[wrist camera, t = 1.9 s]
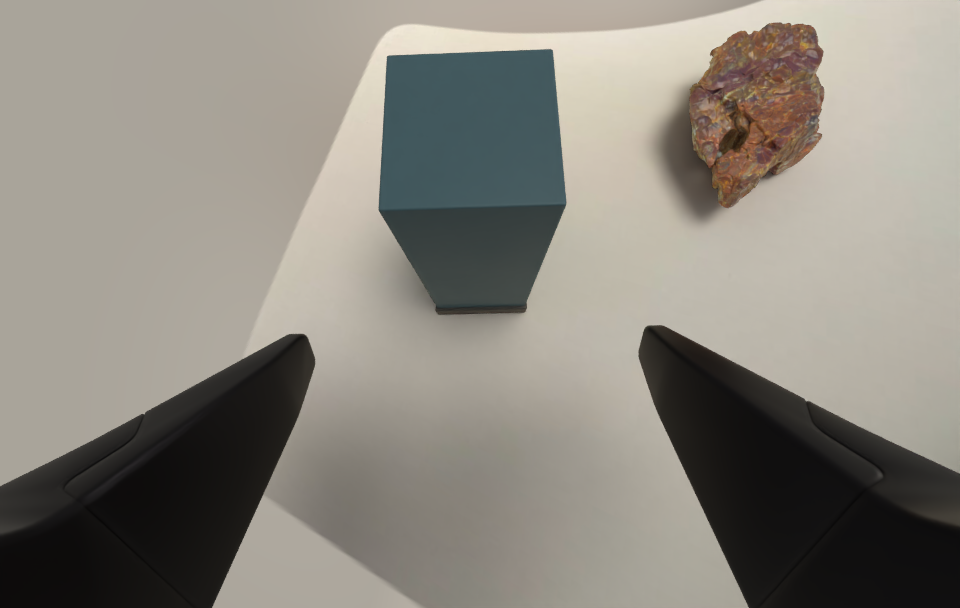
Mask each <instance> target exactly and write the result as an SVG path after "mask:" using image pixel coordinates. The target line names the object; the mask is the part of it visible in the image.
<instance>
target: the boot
mask: <svg viewBox="0 0 960 608" xmlns="http://www.w3.org/2000/svg"><path fill="white" fill-rule="evenodd" d="M565 206H566V193H565V182H564V171H563V160H562V148H561V137H560V126H559V115H558V104H557V92H556V81H555V70H554V59H553V50H551V49H545V50H520V51H494V52H469V53H443V54H418V55H392V56H387V66H386V84H385V102H384V121H383V139H382V157H381V175H380V194H379V212H380V213H381V215H382V216H383V218H384V220H385V221H386V223H387V225H388V226H389V228H390V230H391V231H392V233H393V235H394V236H395V238H396V240H397V241H398V243H399V245H400V246H401V248H402V250H403V251H404V253H405V255H406V256H407V258H408V260H409V261H410V263H411V265H412V266H413V268H414V270H415V271H416V273H417V274H418V276H419V278H420V279H421V281H422V283H423V284H424V286H425V288H426V289H427V291H428V293H429V294H430V296H431V298H432V299H433V301H434V303H435V304H436V312H437V313H438V314H478V313H518V312H525V311H526V309H527V303H526V301H527V299H528V296H529V294H530V292H531V289H532V287H533V284H534V282H535V279H536V277H537V274H538V272H539V270H540V267H541V265H542V262H543V260H544V257H545V255H546V252H547V250H548V248H549V245H550V243H551V240H552V238H553V235H554V233H555V231H556V228H557V226H558V223H559V221H560V218H561V216H562V213H563V211H564V209H565Z"/></svg>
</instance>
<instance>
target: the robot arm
mask: <svg viewBox="0 0 960 608" xmlns="http://www.w3.org/2000/svg"><path fill="white" fill-rule="evenodd" d="M639 360H640V363H641V366H642V369H643V372H644V375H645V378H646V381H647V384H648V387H649V390H650V393H651V396H652V399H653V402H654V405H655V407H656V410H657V412H658V415H659V417H660V419H661V421H662V423H663V425H664V428H665V430H666V432H667V434H668V436H669V438H670V440H671V442H672V445H673V447H674V449H675V451H676V453H677V455H678V457H679V460H680V462H681V464H682V466H683V468H684V470H685V472H686V474H687V477H688V479H689V481H690V483H691V485H692V487H693V489H694V492H695V494H696V496H697V498H698V500H699V502H700V504H701V506H702V509H703V511H704V513H705V515H706V517H707V519H708V521H709V523H710V526H711V528H712V530H713V532H714V534H715V536H716V538H717V541H718V543H719V545H720V547H721V549H722V551H723V553H724V555H725V558H726V560H727V562H728V564H729V566H730V568H731V570H732V573H733V575H734V577H735V579H736V581H737V583H738V585H739V587H740V590H741V592H742V594H743V596H744V598H745V600H746V602H747V605H748V607H749V608H960V474H959V473H957V472H955V471H953V470H950V469H948V468H946V467H944V466H942V465H940V464H937V463H935V462H933V461H931V460H929V459H927V458H925V457H922V456H920V455H918V454H916V453H914V452H912V451H909V450H907V449H905V448H903V447H901V446H899V445H896V444H894V443H892V442H890V441H888V440H886V439H884V438H882V437H880V436H878V435H875V434H873V433H871V432H869V431H867V430H865V429H863V428H861V427H859V426H857V425H855V424H853V423H851V422H849V421H847V420H845V419H843V418H841V417H839V416H837V415H835V414H833V413H831V412H829V411H827V410H825V409H823V408H821V407H819V406H817V405H815V404H813V403H812V402H810V401H805V399H804V398H802V397H800V396H798V395H796V394H794V393H792V392H790V391H788V390H786V389H784V388H782V387H781V386H779V385H777V384H775V383H773V382H771V381H769V380H767V379H765V378H763V377H761V376H759V375H757V374H755V373H754V372H752V371H750V370H748V369H746V368H744V367H742V366H740V365H738V364H736V363H734V362H732V361H730V360H729V359H727V358H725V357H723V356H721V355H719V354H717V353H715V352H713V351H711V350H709V349H707V348H705V347H703V346H702V345H700V344H698V343H696V342H694V341H692V340H690V339H688V338H686V337H684V336H682V335H680V334H678V333H677V332H675V331H673V330H671V329H669V328H667V327H665V326H662V325H654V326H647V327H646V328H645V329H644V332H643V336H642V340H641V344H640V348H639ZM314 367H315V357H314V354H313V351H312V348H311V345H310V343H309V340H308V337H307V336H306V335H304V334H289V335H286V336H285V337H283V338H281V339H279V340H277V341H275V342H274V343H272V344H270V345H268V346H266V347H264V348H263V349H261V350H259V351H257V352H255V353H253V354H252V355H250V356H248V357H246V358H244V359H242V360H241V361H239V362H237V363H235V364H233V365H231V366H230V367H228V368H226V369H224V370H222V371H221V372H219V373H217V374H215V375H213V376H211V377H209V378H207V379H206V380H204V381H202V382H200V383H199V384H196V385H195V386H193V387H191V388H189V389H187V390H185V391H184V392H182V393H180V394H178V395H176V396H174V397H173V398H171V399H169V400H167V401H165V402H163V403H161V404H160V405H158V406H156V407H154V408H152V409H151V410H149V411H147V412H146V413H145V415H144V414H141V415H139V416H137V417H136V418H134V419H132V420H130V421H128V422H126V423H125V424H123V425H121V426H119V427H117V428H115V429H113V430H111V431H110V432H108V433H106V434H104V435H102V436H100V437H98V438H96V439H94V440H93V441H91V442H89V443H87V444H85V445H83V446H81V447H79V448H77V449H75V450H73V451H71V452H69V453H67V454H65V455H63V456H61V457H59V458H57V459H55V460H53V461H51V462H49V463H47V464H45V465H43V466H41V467H39V468H36V469H34V470H33V471H30V472H29V473H26V474H24V475H22V476H20V477H18V478H16V479H14V480H12V481H10V482H8V483H6V484H4V485H2V486H0V608H212V606H213V604H214V602H215V600H216V597H217V595H218V593H219V591H220V589H221V586H222V584H223V582H224V580H225V578H226V575H227V573H228V571H229V569H230V567H231V564H232V562H233V560H234V558H235V556H236V553H237V551H238V549H239V546H240V544H241V542H242V540H243V538H244V536H245V533H246V531H247V529H248V527H249V524H250V522H251V520H252V518H253V516H254V514H255V511H256V509H257V507H258V505H259V502H260V500H261V498H262V496H263V494H264V491H265V489H266V487H267V485H268V483H269V480H270V478H271V476H272V474H273V472H274V469H275V467H276V465H277V463H278V461H279V458H280V456H281V454H282V452H283V449H284V447H285V445H286V443H287V441H288V438H289V436H290V434H291V432H292V430H293V427H294V425H295V423H296V420H297V418H298V416H299V413H300V410H301V407H302V404H303V401H304V398H305V395H306V392H307V389H308V386H309V383H310V379H311V376H312V373H313V370H314Z"/></svg>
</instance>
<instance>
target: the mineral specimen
mask: <svg viewBox="0 0 960 608" xmlns="http://www.w3.org/2000/svg"><path fill="white" fill-rule="evenodd" d="M816 35H817V34H816V31H815V29H814V28H813V27H811V26H810V25H804V24H796V25H792V26H791V24H790V23H787V24H782V23H771V24H770V23H769V24H767V25H766V26H765V27H763V28H762V29H761V30H760V31H759V32H758V31H753V33H752V34H749V35H748V34H747V32H746V31H739V32H737V33H736V34H733V35H732V36H731V37H729V38H728V39H727V41H726V42H725V43H724V44H723V45H722V46H720V47H717V48H715V49H714V50H712V51H711V53H710V55H712V57H713V58H712V60H711V62H710V68H709V69H708V70H707V71H706V72H705V74H704V76H703V77H702V79H701V80H700V81H699V82H698V84H694V85H693V86H692V87H691V89H690V90H691V91H690V94H691V95H690V97H689V101H690V107H689V109H690V113H689V115H690V120H691V124H692V132H693V133H692V139H693V146H694V148H693V150H694V151H695V152H696V153H697V155H698V157H699V158H700V159H702V160H704V161H705V162H706V164H707V166H708V167H709V169H710V168H712V173H713V175H712V183H713V185H712V187H713V188H715V189H717V188H719V191H718V195H719V196H718V203H719V204H721V206H724V207H725V208H729V207H732V206H733V205H735V204H736V203H737V202H738V201H739V200H740V199H741V198H743V197H744V196H745V195H747V194H748V193H749V192H750V191H751V190H752V189H753V188H755V187H756V186H757V184H758V182H759V179H761V177H764V176H765V175H766V173H767V171H768V170H769V171H770V172H771V173H772V174H774V175H777V174H779V173H781V172H783V171H784V170H786V169H787V168H789V167H792V166H793V165H795V164H797V163H798V162H799V161H800V160H802V159H803V158H804V156H806V155H807V154H808V153H809V152H810V151H811V150H812V149H813V148H814V147H815V146H816V144H817V143H818V142H819V140H820V139H821V137H822V134H821V133H817V131H818V129H819V124H818V122H819V119H818V117H819V115H820V113H821V110H822V109H821V106H822V102H823V99H824V87H823V86H821V84H820V82H819V78H818V77H817V76H816V71H817V69H818V67H819V65H820V63H821V61H822V57H823V50H822V49H821V48H820V47H819V45H818V36H816Z"/></svg>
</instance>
